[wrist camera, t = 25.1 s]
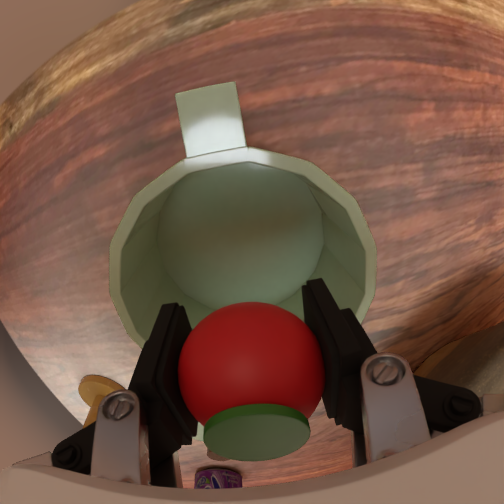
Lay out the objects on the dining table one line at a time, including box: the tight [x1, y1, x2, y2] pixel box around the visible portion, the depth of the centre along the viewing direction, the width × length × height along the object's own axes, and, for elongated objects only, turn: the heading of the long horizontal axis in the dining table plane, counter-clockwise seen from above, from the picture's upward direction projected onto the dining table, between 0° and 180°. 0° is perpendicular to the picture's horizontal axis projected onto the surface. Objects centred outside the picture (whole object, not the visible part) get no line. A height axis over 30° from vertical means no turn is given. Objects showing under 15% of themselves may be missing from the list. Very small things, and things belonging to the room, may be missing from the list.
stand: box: [78, 375, 124, 428], centre depth 18 cm, size 6×6×15 cm
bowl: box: [413, 321, 504, 397], centre depth 20 cm, size 28×28×14 cm
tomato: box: [178, 302, 325, 461], centre depth 8 cm, size 4×4×5 cm
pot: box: [109, 81, 377, 349], centre depth 16 cm, size 12×18×8 cm
